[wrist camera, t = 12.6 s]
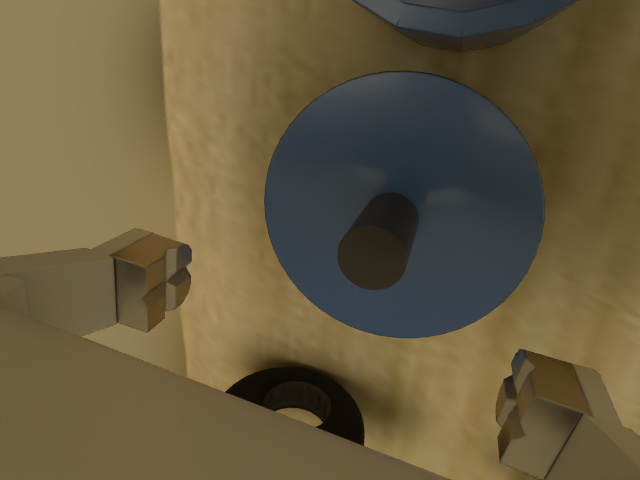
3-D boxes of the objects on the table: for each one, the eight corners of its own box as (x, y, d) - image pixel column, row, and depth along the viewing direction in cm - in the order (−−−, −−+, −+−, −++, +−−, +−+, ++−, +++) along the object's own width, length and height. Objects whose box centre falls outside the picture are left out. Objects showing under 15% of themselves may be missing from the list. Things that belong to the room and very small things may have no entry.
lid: (291, 47, 18) (226, 36, 13) (590, 103, 16) (649, 116, 11) (261, 285, 23) (205, 344, 18) (485, 356, 21) (493, 448, 16)
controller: (245, 339, 31) (157, 447, 22) (417, 390, 28) (395, 539, 19) (243, 385, 32) (160, 503, 24) (404, 438, 30) (379, 595, 21)
